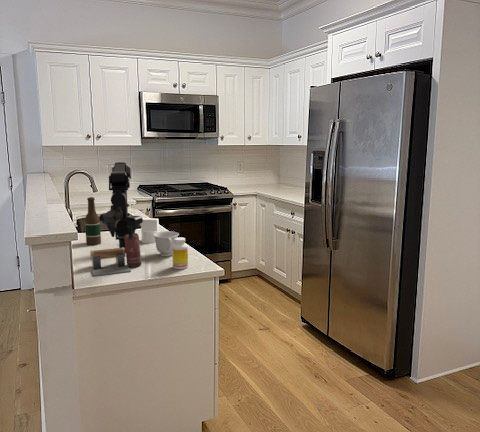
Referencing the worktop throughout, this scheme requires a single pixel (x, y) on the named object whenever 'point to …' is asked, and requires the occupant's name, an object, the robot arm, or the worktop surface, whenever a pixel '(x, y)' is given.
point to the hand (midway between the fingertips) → (121, 238)
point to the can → (132, 250)
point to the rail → (107, 253)
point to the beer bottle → (92, 224)
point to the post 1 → (96, 263)
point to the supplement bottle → (180, 253)
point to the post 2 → (120, 260)
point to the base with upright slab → (149, 229)
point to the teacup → (165, 242)
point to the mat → (110, 271)
